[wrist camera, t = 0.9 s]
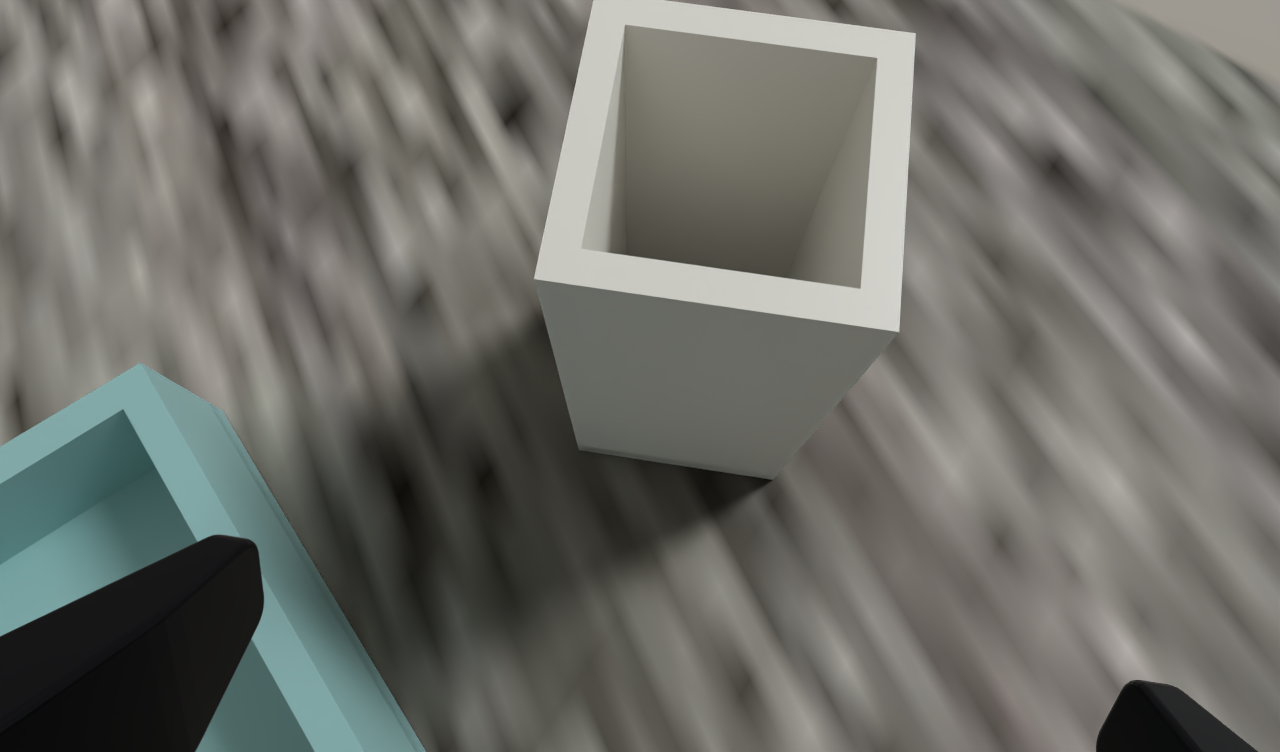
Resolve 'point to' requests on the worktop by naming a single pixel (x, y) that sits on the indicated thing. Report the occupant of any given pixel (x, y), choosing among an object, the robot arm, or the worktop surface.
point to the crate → (169, 521)
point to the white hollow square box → (724, 229)
